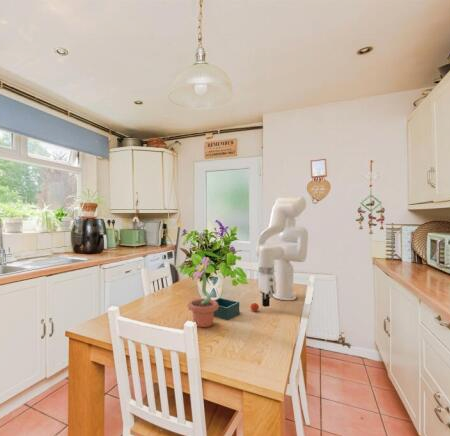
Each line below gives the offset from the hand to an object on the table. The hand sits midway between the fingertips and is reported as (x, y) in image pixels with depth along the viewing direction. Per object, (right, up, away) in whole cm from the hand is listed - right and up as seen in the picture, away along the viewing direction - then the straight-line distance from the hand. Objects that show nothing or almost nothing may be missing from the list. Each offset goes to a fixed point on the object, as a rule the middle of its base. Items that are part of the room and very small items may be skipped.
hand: (265, 306), depth 141 cm
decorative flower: (-34, -2, -18) cm, 38 cm away
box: (-23, -2, -5) cm, 23 cm away
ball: (-6, -2, -1) cm, 6 cm away
